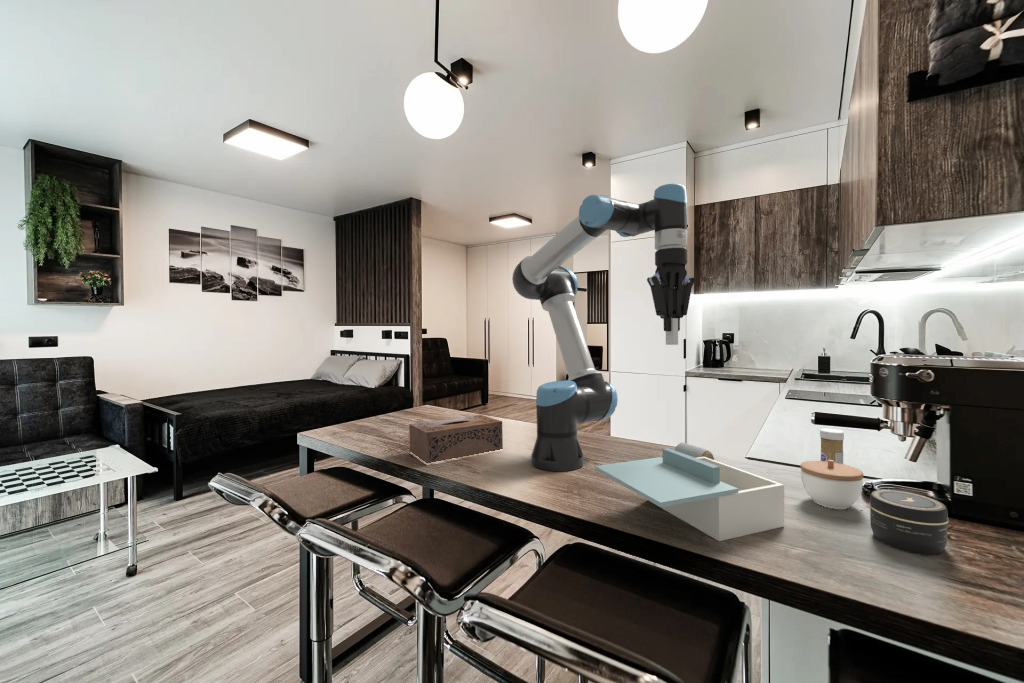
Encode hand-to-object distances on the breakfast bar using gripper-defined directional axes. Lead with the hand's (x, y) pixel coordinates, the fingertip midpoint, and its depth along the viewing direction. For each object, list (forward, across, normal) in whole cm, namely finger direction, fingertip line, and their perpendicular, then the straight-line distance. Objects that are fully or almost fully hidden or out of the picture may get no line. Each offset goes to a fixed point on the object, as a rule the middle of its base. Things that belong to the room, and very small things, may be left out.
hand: (671, 344), depth 104 cm
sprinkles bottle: (+35, +33, -16) cm, 50 cm away
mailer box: (+34, -5, -17) cm, 39 cm away
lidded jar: (+35, +22, -23) cm, 47 cm away
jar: (+35, +17, -39) cm, 55 cm away
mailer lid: (+26, -18, -17) cm, 36 cm away
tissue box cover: (+35, -45, +47) cm, 74 cm away
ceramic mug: (+35, +10, +4) cm, 36 cm away
